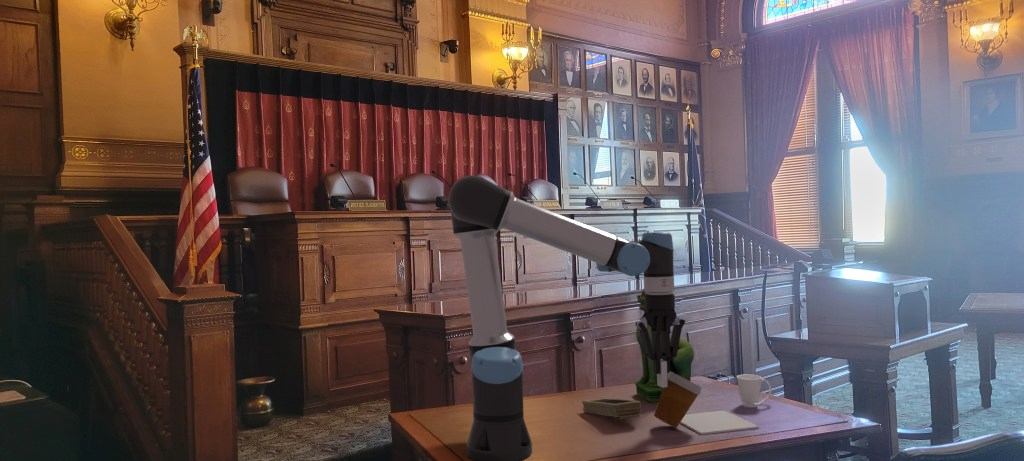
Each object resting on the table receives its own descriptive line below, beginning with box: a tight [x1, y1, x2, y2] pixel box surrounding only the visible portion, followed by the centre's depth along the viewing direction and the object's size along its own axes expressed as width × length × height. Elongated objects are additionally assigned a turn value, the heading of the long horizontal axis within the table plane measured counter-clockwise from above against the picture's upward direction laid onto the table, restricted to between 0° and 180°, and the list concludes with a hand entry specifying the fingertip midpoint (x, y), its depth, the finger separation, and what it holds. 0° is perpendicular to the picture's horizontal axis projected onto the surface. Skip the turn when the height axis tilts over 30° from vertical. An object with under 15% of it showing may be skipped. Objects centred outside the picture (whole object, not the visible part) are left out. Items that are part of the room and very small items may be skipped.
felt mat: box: [680, 410, 759, 436], centre depth 186 cm, size 16×16×1 cm
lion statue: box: [634, 288, 695, 404], centre depth 214 cm, size 14×17×35 cm
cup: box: [736, 373, 773, 408], centre depth 202 cm, size 7×10×8 cm
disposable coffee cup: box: [653, 371, 703, 429], centre depth 183 cm, size 10×10×12 cm
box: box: [581, 398, 642, 421], centre depth 194 cm, size 8×22×5 cm, turn 23°
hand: (662, 386), depth 182 cm, fingers closed
